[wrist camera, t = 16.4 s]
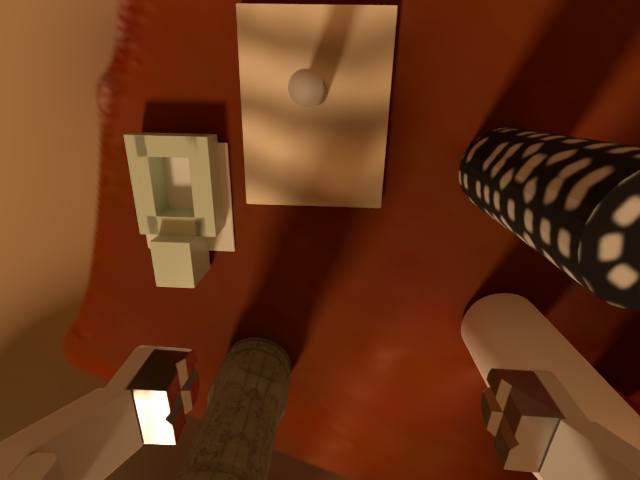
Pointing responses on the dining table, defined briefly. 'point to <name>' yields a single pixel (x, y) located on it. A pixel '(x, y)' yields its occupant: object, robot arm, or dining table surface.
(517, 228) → the white-spotted black cylinder
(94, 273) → the dining table surface
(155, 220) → the link
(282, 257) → the dining table surface
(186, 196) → the mat
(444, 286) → the dining table surface
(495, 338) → the alcohol
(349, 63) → the post stand
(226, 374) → the stone moai statue
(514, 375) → the robot arm
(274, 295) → the dining table surface
